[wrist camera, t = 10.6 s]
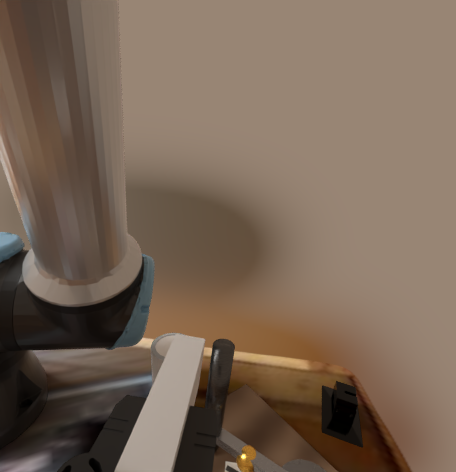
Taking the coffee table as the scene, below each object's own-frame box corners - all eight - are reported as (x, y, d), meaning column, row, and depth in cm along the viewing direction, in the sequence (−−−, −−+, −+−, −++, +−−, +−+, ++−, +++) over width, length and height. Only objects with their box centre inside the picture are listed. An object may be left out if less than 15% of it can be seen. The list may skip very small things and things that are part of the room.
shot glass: (171, 408, 41) (175, 368, 39) (138, 385, 44) (140, 347, 42) (200, 380, 46) (205, 344, 45) (169, 361, 50) (172, 327, 48)
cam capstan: (347, 502, 30) (382, 397, 26) (334, 581, 24) (378, 460, 20) (217, 417, 38) (230, 327, 34) (183, 461, 32) (195, 357, 28)
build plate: (369, 464, 37) (379, 438, 36) (313, 442, 39) (320, 416, 38) (359, 394, 49) (366, 372, 47) (315, 380, 51) (321, 358, 49)
